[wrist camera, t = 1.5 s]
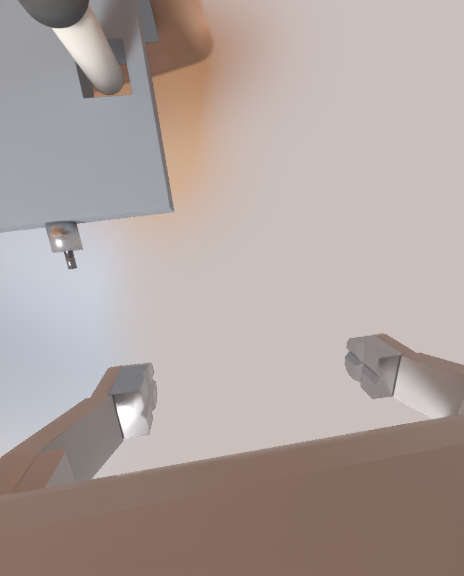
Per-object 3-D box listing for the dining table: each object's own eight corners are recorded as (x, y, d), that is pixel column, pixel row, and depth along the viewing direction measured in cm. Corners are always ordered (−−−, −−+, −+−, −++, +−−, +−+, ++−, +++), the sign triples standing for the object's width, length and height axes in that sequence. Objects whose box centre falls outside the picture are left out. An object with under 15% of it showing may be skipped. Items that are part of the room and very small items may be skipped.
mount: (-192, -41, 18) (-86, 237, 23) (136, -54, 20) (179, 206, 24) (-72, 45, 26) (-10, 239, 30) (157, 30, 28) (186, 216, 32)
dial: (37, 223, 24) (51, 271, 25) (63, 220, 23) (75, 268, 24) (59, 225, 26) (70, 268, 27) (82, 222, 26) (92, 265, 27)
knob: (-31, -107, 12) (-4, -2, 13) (59, -110, 12) (80, -7, 13) (76, 50, 22) (88, 104, 23) (125, 47, 22) (135, 100, 23)
